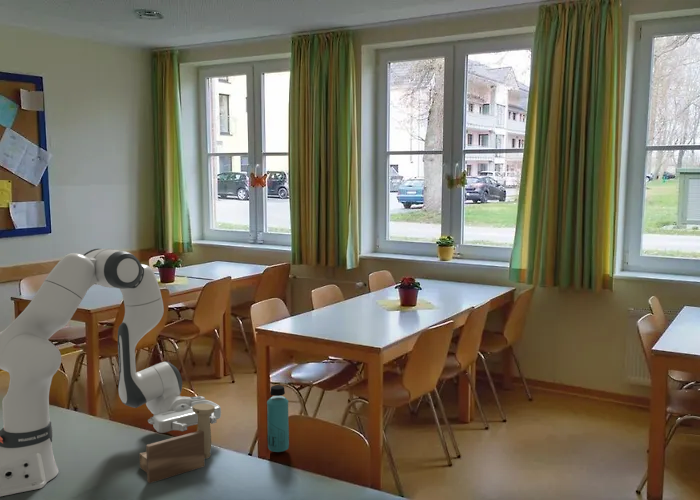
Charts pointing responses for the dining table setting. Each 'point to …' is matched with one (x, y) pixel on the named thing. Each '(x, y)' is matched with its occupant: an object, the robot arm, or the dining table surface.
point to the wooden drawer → (173, 456)
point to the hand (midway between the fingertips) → (199, 424)
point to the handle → (204, 424)
